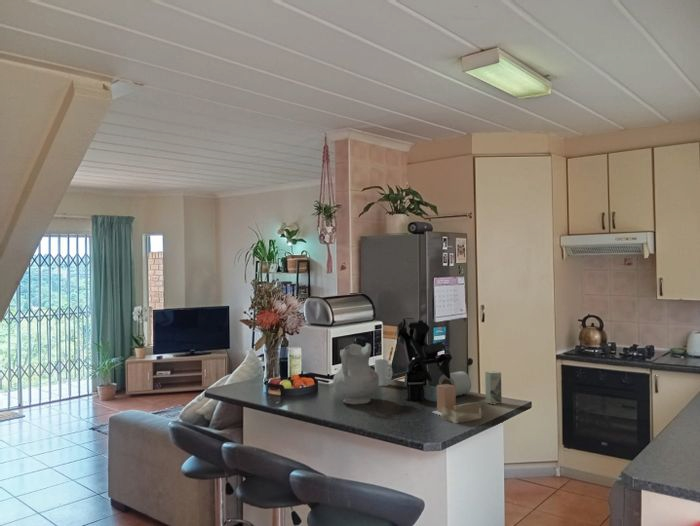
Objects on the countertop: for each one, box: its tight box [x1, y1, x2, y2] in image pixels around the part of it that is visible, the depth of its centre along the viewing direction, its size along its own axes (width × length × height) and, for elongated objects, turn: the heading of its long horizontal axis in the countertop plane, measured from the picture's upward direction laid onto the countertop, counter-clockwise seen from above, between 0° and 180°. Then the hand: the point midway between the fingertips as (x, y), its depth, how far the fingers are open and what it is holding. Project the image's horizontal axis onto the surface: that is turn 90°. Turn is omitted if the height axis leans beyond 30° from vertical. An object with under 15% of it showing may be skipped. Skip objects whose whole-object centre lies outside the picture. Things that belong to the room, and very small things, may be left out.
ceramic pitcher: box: [332, 342, 379, 405], centre depth 232 cm, size 22×20×25 cm
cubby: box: [441, 400, 482, 424], centre depth 201 cm, size 8×12×6 cm, turn 120°
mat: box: [431, 410, 442, 417], centre depth 209 cm, size 8×8×1 cm
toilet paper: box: [437, 371, 472, 397], centre depth 239 cm, size 10×10×10 cm
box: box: [484, 370, 503, 405], centre depth 223 cm, size 5×4×13 cm
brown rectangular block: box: [436, 384, 457, 413], centre depth 209 cm, size 5×5×10 cm
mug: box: [374, 358, 393, 387], centre depth 265 cm, size 10×7×12 cm, turn 45°
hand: (440, 379), depth 212 cm, fingers open, 9 cm apart
